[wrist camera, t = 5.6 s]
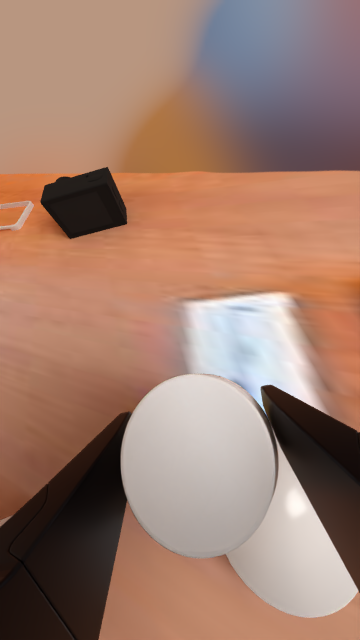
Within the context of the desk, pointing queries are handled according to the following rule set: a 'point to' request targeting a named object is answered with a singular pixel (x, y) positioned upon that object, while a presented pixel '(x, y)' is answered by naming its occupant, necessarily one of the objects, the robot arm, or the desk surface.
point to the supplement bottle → (199, 465)
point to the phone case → (23, 216)
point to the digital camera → (85, 203)
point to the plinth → (293, 555)
